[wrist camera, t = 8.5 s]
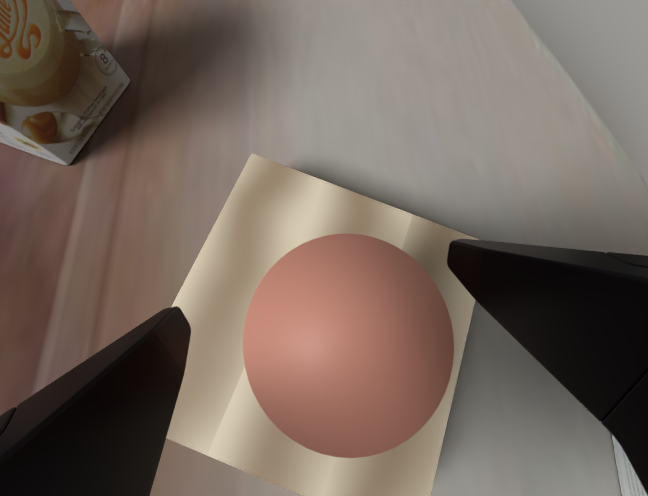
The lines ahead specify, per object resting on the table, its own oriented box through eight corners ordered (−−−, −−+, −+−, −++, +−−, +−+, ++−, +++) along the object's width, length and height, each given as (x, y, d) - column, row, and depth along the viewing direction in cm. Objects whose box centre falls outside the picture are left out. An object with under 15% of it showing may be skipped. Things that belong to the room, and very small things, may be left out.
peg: (359, 314, 19) (491, 316, 5) (324, 361, 18) (374, 515, 4) (315, 279, 19) (331, 197, 6) (279, 323, 18) (196, 354, 5)
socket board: (453, 256, 20) (488, 243, 16) (392, 489, 16) (419, 545, 12) (262, 183, 21) (251, 153, 17) (158, 392, 17) (114, 416, 13)
